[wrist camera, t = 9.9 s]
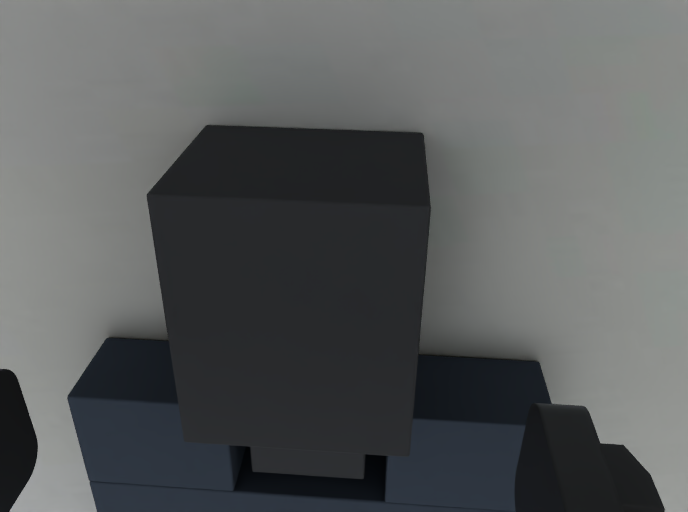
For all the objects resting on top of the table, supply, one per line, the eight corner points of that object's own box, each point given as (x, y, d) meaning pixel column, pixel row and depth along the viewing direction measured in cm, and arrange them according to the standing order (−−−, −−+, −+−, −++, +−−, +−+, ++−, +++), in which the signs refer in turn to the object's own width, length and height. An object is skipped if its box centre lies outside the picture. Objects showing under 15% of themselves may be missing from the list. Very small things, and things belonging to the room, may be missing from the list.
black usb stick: (205, 124, 15) (144, 193, 11) (423, 132, 14) (431, 206, 11) (233, 412, 19) (196, 527, 16) (402, 422, 19) (402, 543, 15)
